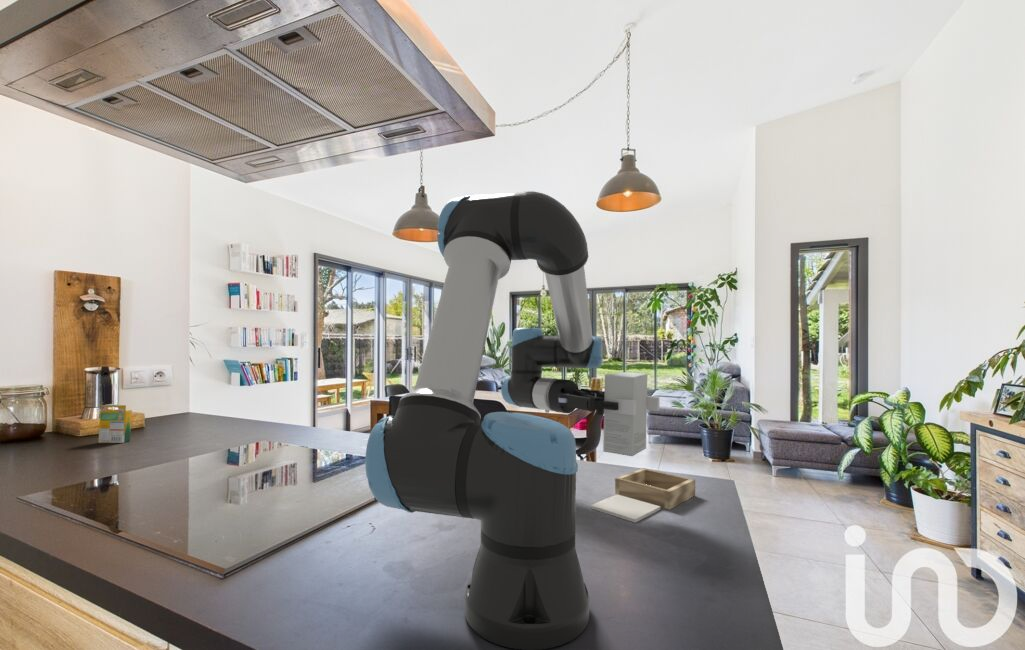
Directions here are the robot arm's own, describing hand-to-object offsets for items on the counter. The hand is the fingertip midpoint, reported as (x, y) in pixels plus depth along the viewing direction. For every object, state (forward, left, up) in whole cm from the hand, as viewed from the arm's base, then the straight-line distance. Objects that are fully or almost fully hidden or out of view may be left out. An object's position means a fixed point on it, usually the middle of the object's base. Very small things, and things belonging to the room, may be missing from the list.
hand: (647, 405), depth 89 cm
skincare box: (0, +5, -10) cm, 11 cm away
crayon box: (-67, +145, -21) cm, 161 cm away
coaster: (0, +5, -21) cm, 21 cm away
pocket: (+12, +5, -21) cm, 25 cm away
